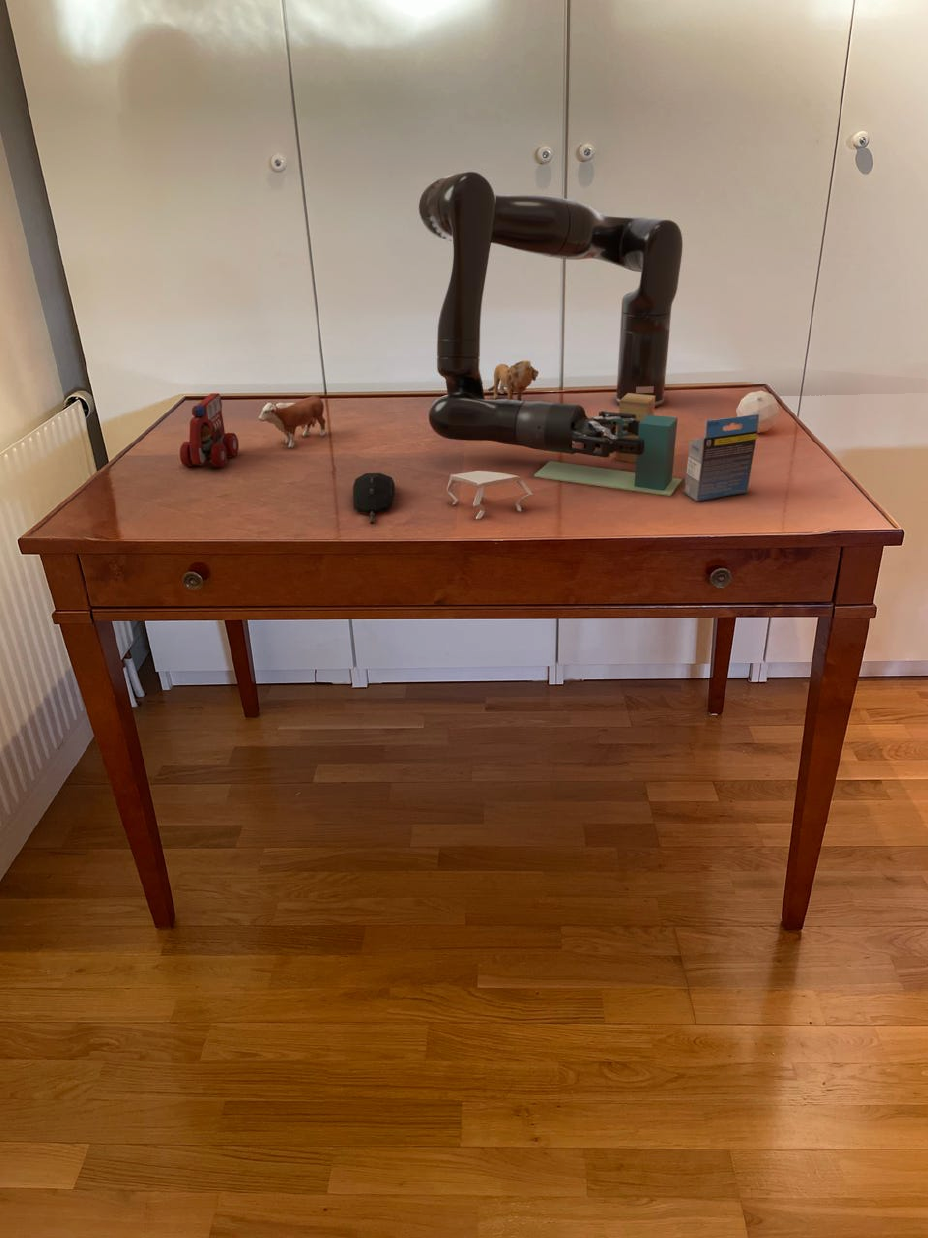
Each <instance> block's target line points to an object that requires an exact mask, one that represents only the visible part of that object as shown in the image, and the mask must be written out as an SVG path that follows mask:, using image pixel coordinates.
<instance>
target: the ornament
mask: <svg viewBox="0 0 928 1238" xmlns="http://www.w3.org/2000/svg"><path fill="white" fill-rule="evenodd" d="M735 410H736V417H739V416H747V415H754V414H759V419H758V428H757V434H758V433H764V432H768V431H769V430H770V429H771V428H772V427H773V426H775V424H776V422H777V420H778V418H779V416H780V415H781V413H780V408H779V404H778V401H777V399H776V397H775V396H774V395H773V394H771V393H770V392H766V391H764V390H757V391H751V392H748V393H747V394H746V395H745V396H744V397H742V398H741V400H740V401H739V404H738V405H737V408H736V409H735Z"/></svg>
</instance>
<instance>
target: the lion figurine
mask: <svg viewBox="0 0 928 1238" xmlns="http://www.w3.org/2000/svg"><path fill="white" fill-rule="evenodd" d="M539 374H540V372H539V371H538V370H537V369H535V368H534V366H532V365H531V361H530V360H527V359H526V360H521V361H518V362H515V363H514V364H512V365H511V366H510V367H509V365H507V364H505V363H499V364H498V365H496V366H495V368H494V372H493V380H494V382H493V383H494V384H493V386H491V387H489V388H488V389H487V390H488V392H491V391H493V397H492V398H493V399H492V400H499V399H500V397H499V395H498V392H499V393H500V394H501V395H505V394H506V392H507V399H509V400H514V393H517V395H516V400H518V401H523V400H522V396H523V392H524V391H526V390H527V387H529V386H530V385H531V384H532V381H533V382H536V380H537V377H538V376H539ZM504 388H505V389H506V390H505V389H504Z"/></svg>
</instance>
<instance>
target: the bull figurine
mask: <svg viewBox="0 0 928 1238" xmlns="http://www.w3.org/2000/svg"><path fill="white" fill-rule="evenodd" d="M324 410H325V407H324V402H323V400H322V398H321V397H320V396H319V395H318V394H317V395H316V394H314V395H312V396H309V397H306V398H303V399H301V400H298V401H295V402H287V403H284V402H278V403H276V404H273V403H271V402H267V403H266V404H265V405H264V406H263V408H262V410H261V413H260V414H259V415H258V420H259V422H267V423H268V424H273V425H274V427H275V428H277V429H278V430H279V431H280V432H282V433H283V434H284V435H285V436H286V438H285V441H284V444H285V445H287V449H294V447H295V443H294V438H295V435H296V430H297V427H301V429H302V430H304V429H305V430H304V431H303V433H302V435H301V436H302V437H303V438H306V437H308V436H309V434H310V429H311V427H312V428H315V426H316V423H317V422H318V424H319V425H320V433H319V437H325V435H326V433H327V432H326V419H325V418H324V416H323V415H324Z"/></svg>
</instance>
